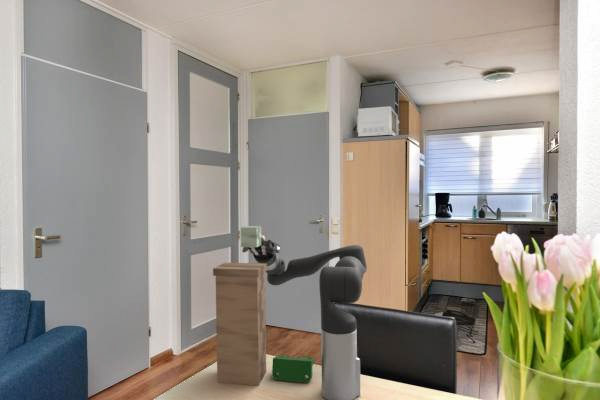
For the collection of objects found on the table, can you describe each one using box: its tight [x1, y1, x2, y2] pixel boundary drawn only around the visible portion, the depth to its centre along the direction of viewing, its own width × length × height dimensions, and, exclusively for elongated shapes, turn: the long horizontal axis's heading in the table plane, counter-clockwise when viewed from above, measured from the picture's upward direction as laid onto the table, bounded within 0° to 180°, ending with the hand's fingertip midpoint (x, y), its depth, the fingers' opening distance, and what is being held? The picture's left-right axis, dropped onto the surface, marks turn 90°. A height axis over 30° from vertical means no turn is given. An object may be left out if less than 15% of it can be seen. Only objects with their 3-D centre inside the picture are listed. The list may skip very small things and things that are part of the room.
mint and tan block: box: [240, 225, 266, 248], centre depth 125 cm, size 14×5×6 cm, turn 170°
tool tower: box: [212, 262, 267, 386], centre depth 110 cm, size 9×13×32 cm
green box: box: [271, 354, 315, 384], centre depth 110 cm, size 12×6×9 cm, turn 72°
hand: (254, 238), depth 123 cm, fingers closed on mint and tan block, 2 cm apart
